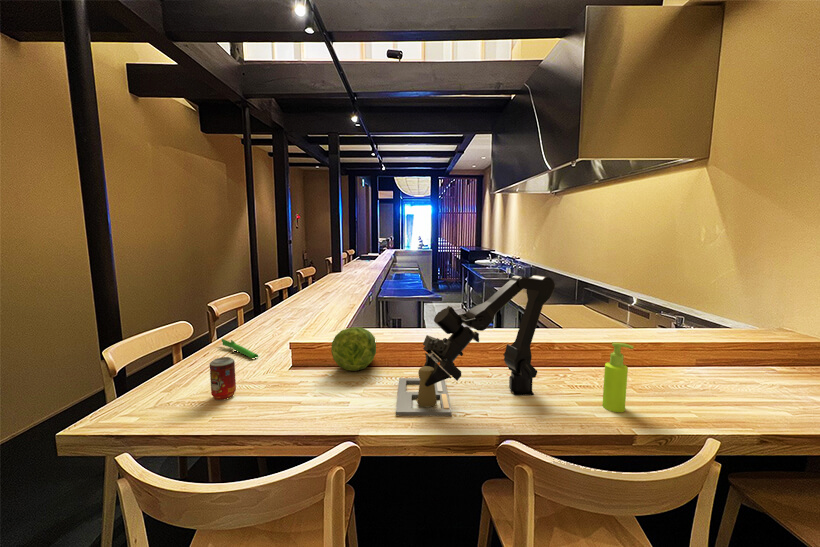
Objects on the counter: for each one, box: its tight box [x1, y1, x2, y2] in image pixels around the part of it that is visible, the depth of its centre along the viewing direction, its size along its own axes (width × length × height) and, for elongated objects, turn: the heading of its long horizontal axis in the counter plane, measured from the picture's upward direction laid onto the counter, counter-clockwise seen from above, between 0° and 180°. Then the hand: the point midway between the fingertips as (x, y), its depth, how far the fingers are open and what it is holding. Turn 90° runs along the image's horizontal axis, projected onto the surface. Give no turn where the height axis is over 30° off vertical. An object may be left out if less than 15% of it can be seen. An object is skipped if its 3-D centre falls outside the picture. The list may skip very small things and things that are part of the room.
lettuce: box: [330, 326, 377, 372], centre depth 140 cm, size 17×23×16 cm
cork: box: [416, 365, 438, 408], centre depth 106 cm, size 6×6×11 cm
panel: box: [395, 377, 452, 417], centre depth 112 cm, size 16×24×2 cm, turn 179°
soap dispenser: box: [601, 342, 635, 413], centre depth 104 cm, size 6×7×20 cm
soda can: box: [209, 356, 237, 401], centre depth 112 cm, size 7×7×12 cm
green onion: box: [221, 338, 259, 359], centre depth 155 cm, size 5×3×30 cm
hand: (422, 382), depth 106 cm, fingers closed on cork, 5 cm apart
